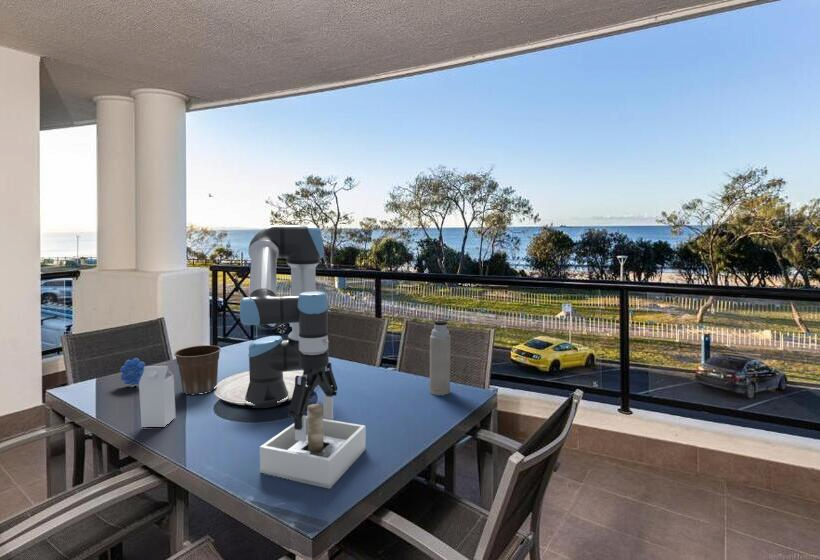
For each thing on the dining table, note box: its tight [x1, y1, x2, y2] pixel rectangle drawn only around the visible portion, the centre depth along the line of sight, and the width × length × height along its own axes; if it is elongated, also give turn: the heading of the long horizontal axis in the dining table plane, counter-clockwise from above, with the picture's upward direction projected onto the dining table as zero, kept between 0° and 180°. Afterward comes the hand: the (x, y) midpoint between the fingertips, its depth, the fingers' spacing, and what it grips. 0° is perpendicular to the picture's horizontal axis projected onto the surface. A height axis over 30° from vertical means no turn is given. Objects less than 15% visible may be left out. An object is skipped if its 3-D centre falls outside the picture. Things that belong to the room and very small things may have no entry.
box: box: [259, 415, 367, 490], centre depth 111 cm, size 20×20×7 cm
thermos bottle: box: [429, 320, 452, 396], centre depth 162 cm, size 8×8×28 cm
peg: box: [306, 403, 324, 453], centre depth 111 cm, size 4×4×14 cm
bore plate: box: [288, 434, 346, 458], centre depth 112 cm, size 12×12×3 cm
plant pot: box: [174, 344, 222, 395], centre depth 164 cm, size 16×16×16 cm
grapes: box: [119, 357, 146, 386], centre depth 168 cm, size 12×7×12 cm, turn 82°
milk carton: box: [138, 365, 176, 428], centre depth 133 cm, size 7×7×19 cm
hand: (315, 428), depth 111 cm, fingers open, 13 cm apart
